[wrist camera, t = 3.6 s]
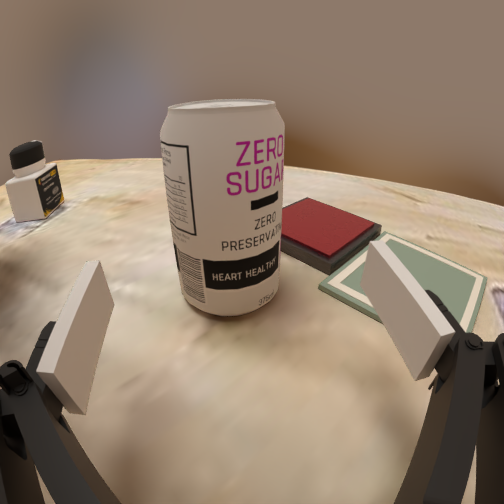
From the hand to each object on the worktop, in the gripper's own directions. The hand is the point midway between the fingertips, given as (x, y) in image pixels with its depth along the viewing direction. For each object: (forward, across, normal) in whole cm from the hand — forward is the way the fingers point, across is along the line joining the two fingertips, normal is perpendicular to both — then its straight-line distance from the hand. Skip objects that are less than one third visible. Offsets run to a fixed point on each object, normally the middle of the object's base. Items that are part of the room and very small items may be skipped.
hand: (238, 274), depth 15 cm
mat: (+7, +17, -8) cm, 20 cm away
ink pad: (+17, +10, -8) cm, 21 cm away
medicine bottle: (+32, -31, -8) cm, 45 cm away
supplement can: (+9, 0, -8) cm, 12 cm away
